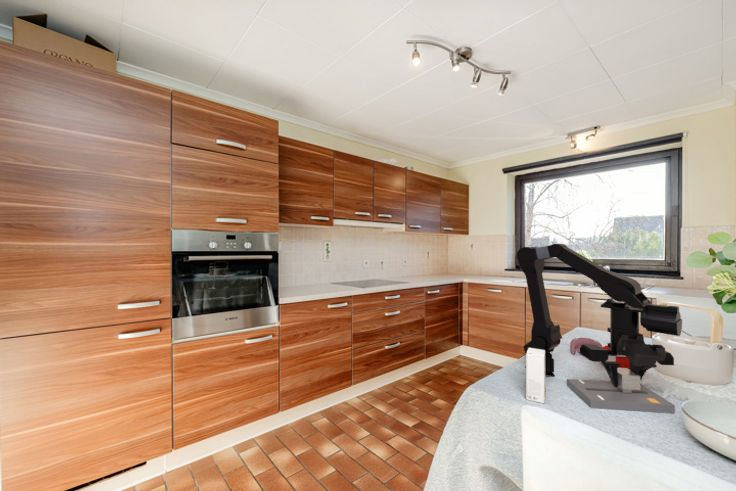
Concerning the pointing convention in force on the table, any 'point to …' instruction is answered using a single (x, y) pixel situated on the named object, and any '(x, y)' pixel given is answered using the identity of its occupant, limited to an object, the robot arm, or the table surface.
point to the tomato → (620, 360)
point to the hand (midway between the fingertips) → (624, 387)
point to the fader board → (618, 397)
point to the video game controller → (578, 343)
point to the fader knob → (627, 380)
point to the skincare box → (535, 375)
